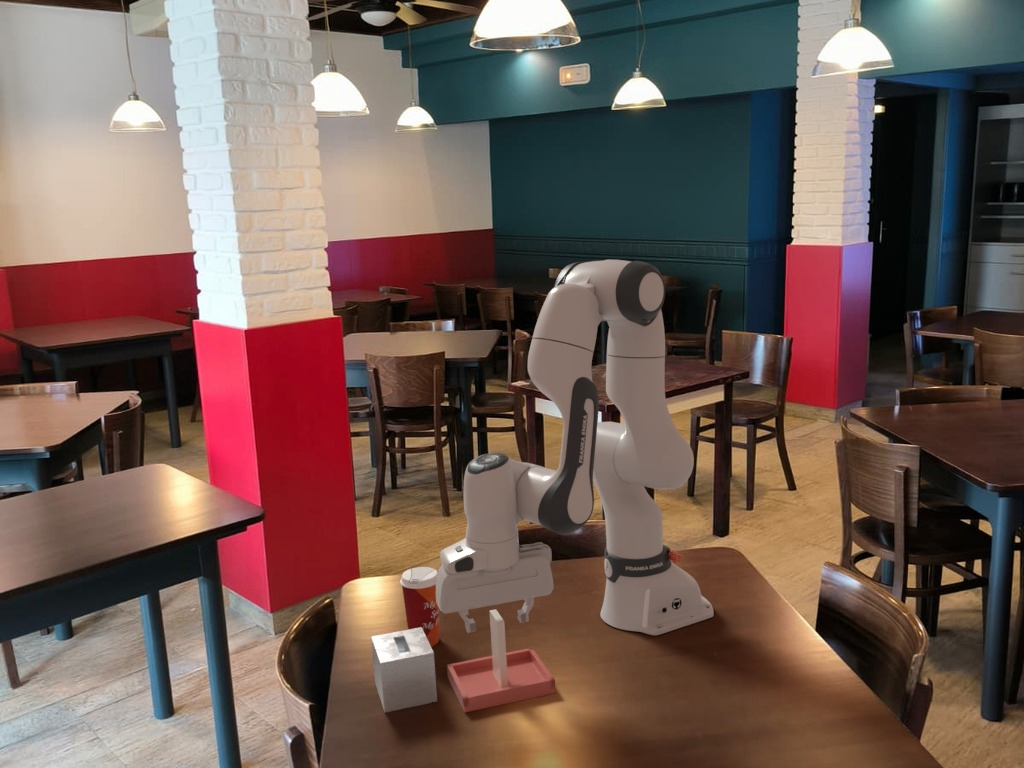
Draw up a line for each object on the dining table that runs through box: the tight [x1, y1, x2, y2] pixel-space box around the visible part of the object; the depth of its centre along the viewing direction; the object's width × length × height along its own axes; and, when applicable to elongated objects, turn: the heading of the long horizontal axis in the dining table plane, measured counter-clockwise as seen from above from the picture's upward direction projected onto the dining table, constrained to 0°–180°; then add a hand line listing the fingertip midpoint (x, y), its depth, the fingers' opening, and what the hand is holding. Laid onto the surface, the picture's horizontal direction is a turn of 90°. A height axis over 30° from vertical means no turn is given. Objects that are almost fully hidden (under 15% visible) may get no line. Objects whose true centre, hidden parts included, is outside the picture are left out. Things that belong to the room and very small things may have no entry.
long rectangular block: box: [489, 608, 508, 688], centre depth 154 cm, size 1×5×12 cm, turn 17°
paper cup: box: [399, 566, 440, 648], centre depth 171 cm, size 8×8×14 cm
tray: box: [446, 647, 556, 713], centre depth 155 cm, size 16×12×2 cm
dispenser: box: [370, 627, 438, 713], centre depth 153 cm, size 9×10×9 cm
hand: (497, 625), depth 153 cm, fingers open, 8 cm apart
